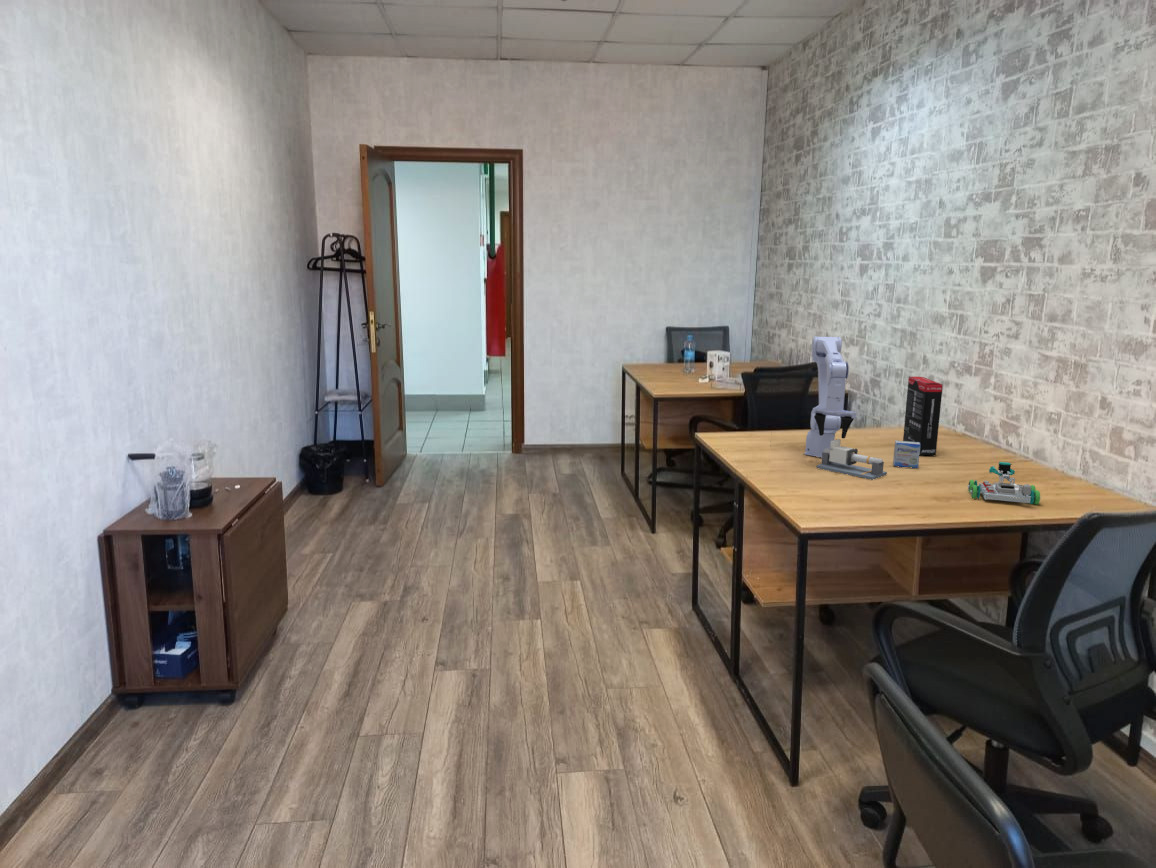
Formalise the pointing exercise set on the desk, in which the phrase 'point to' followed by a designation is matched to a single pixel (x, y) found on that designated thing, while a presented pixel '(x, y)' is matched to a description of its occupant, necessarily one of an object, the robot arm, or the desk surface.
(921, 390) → the graphics card box
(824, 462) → the pipe stand
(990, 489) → the robot kit
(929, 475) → the desk surface
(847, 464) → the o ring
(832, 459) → the sleeve
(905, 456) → the medicine box
